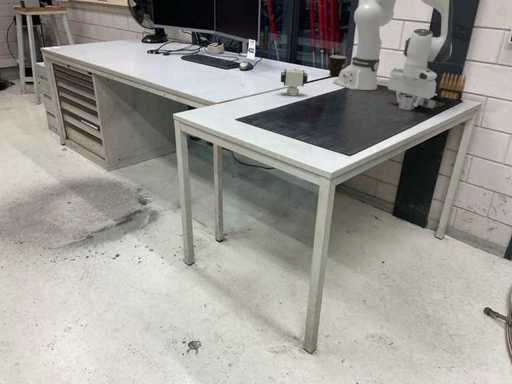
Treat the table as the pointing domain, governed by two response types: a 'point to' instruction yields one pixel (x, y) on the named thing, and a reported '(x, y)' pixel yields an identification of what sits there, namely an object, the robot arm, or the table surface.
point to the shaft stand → (429, 103)
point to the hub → (407, 102)
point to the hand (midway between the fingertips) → (407, 104)
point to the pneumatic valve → (293, 80)
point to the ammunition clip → (451, 88)
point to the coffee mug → (336, 65)
